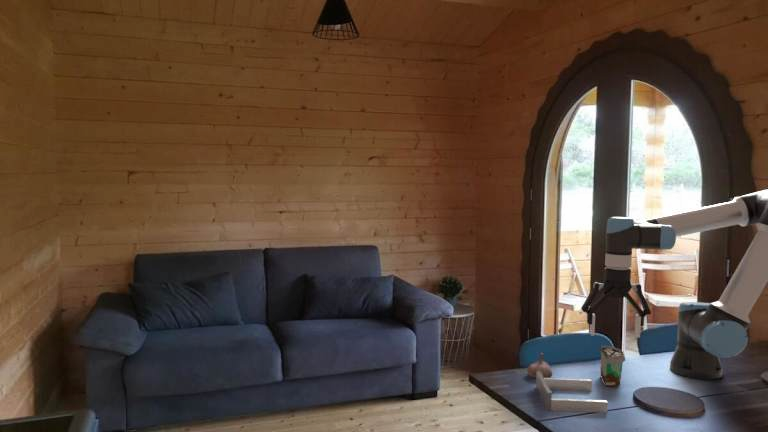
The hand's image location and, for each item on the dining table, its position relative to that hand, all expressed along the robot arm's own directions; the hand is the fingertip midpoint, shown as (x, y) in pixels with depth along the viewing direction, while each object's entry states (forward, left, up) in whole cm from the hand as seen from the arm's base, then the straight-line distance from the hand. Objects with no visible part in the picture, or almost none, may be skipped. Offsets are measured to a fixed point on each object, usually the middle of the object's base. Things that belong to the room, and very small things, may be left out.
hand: (614, 335), depth 184 cm
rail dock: (+16, +15, -15) cm, 26 cm away
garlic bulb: (+22, -3, -15) cm, 27 cm away
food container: (0, 0, -15) cm, 15 cm away
